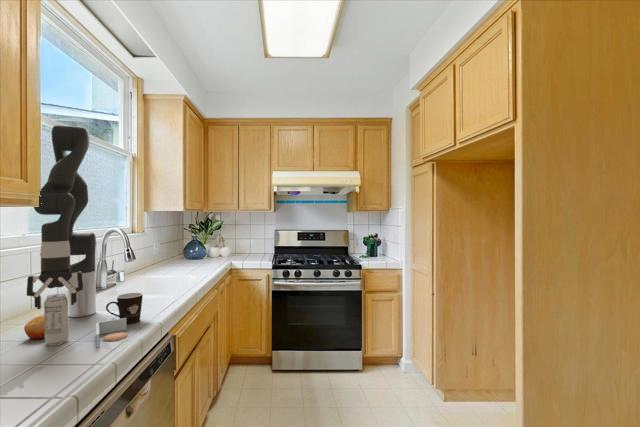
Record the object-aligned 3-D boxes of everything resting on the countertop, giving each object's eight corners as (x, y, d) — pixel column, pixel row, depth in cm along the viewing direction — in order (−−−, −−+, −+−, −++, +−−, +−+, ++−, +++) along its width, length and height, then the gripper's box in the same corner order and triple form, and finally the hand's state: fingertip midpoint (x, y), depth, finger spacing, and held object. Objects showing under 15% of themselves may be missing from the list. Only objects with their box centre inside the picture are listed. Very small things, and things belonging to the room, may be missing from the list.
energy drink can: (73, 339, 116) (72, 293, 115) (58, 346, 110) (57, 298, 109) (55, 339, 116) (54, 293, 116) (39, 346, 110) (39, 297, 110)
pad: (103, 336, 118) (103, 335, 118) (126, 332, 122) (126, 331, 122) (103, 342, 112) (103, 341, 112) (128, 338, 116) (128, 337, 116)
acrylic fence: (96, 333, 120) (96, 322, 120) (126, 329, 125) (126, 317, 125) (96, 347, 108) (96, 334, 108) (129, 341, 113) (129, 329, 113)
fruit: (65, 326, 124) (56, 310, 119) (51, 346, 117) (41, 329, 113) (41, 327, 123) (31, 311, 119) (26, 346, 117) (15, 330, 112)
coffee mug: (144, 317, 139) (143, 291, 139) (141, 323, 131) (141, 296, 131) (110, 320, 135) (109, 294, 134) (105, 327, 127) (105, 300, 126)
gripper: (83, 252, 119) (83, 301, 119) (28, 256, 112) (29, 307, 112) (82, 254, 113) (82, 305, 113) (24, 258, 105) (25, 312, 105)
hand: (56, 306), depth 112 cm, fingers open, 8 cm apart
